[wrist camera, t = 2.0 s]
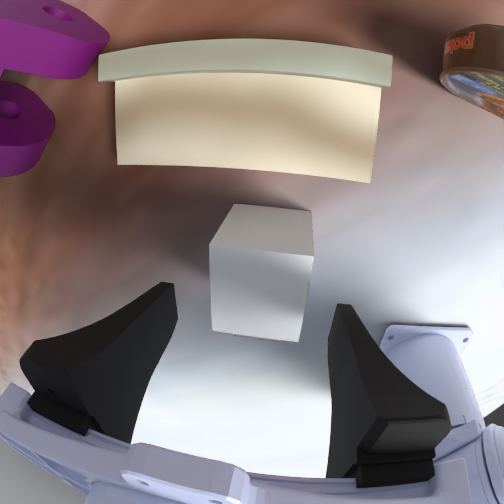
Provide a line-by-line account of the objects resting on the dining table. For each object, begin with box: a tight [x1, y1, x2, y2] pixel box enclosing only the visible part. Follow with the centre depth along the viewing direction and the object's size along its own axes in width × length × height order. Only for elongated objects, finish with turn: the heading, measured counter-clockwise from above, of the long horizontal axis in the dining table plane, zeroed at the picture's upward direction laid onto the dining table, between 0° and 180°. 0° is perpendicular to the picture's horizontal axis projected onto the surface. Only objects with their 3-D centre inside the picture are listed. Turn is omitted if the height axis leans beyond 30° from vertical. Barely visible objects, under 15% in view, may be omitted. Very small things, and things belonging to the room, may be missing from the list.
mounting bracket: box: [0, 0, 110, 177], centre depth 13 cm, size 9×8×18 cm
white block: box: [209, 204, 314, 342], centre depth 17 cm, size 6×4×6 cm
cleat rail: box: [98, 39, 393, 183], centre depth 14 cm, size 6×14×3 cm, turn 87°
